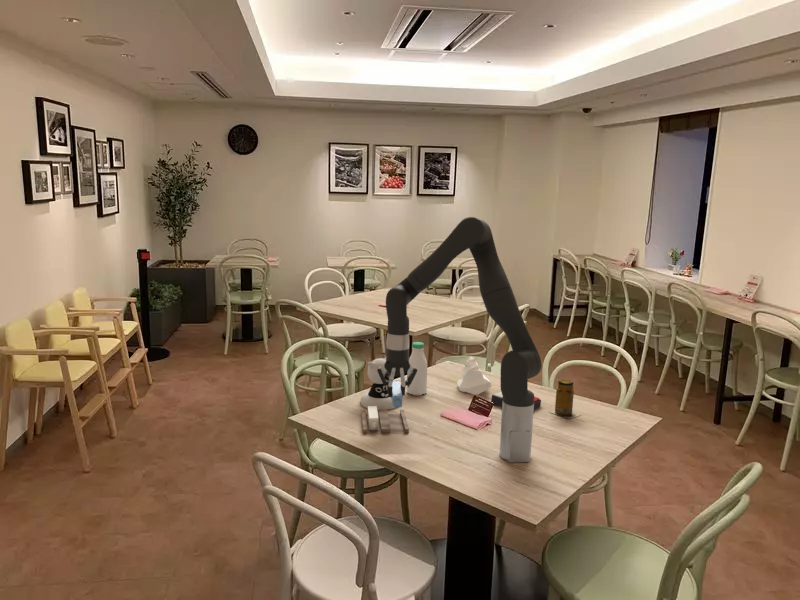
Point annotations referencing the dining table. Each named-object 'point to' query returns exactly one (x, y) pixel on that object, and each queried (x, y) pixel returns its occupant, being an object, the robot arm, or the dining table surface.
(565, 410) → the condiment
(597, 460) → the dining table surface
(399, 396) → the light blue bar
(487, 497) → the dining table surface
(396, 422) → the cord comb
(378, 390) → the decorative figurine
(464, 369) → the soft serve ice cream
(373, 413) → the white rectangular block
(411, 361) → the milk bottle
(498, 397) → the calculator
